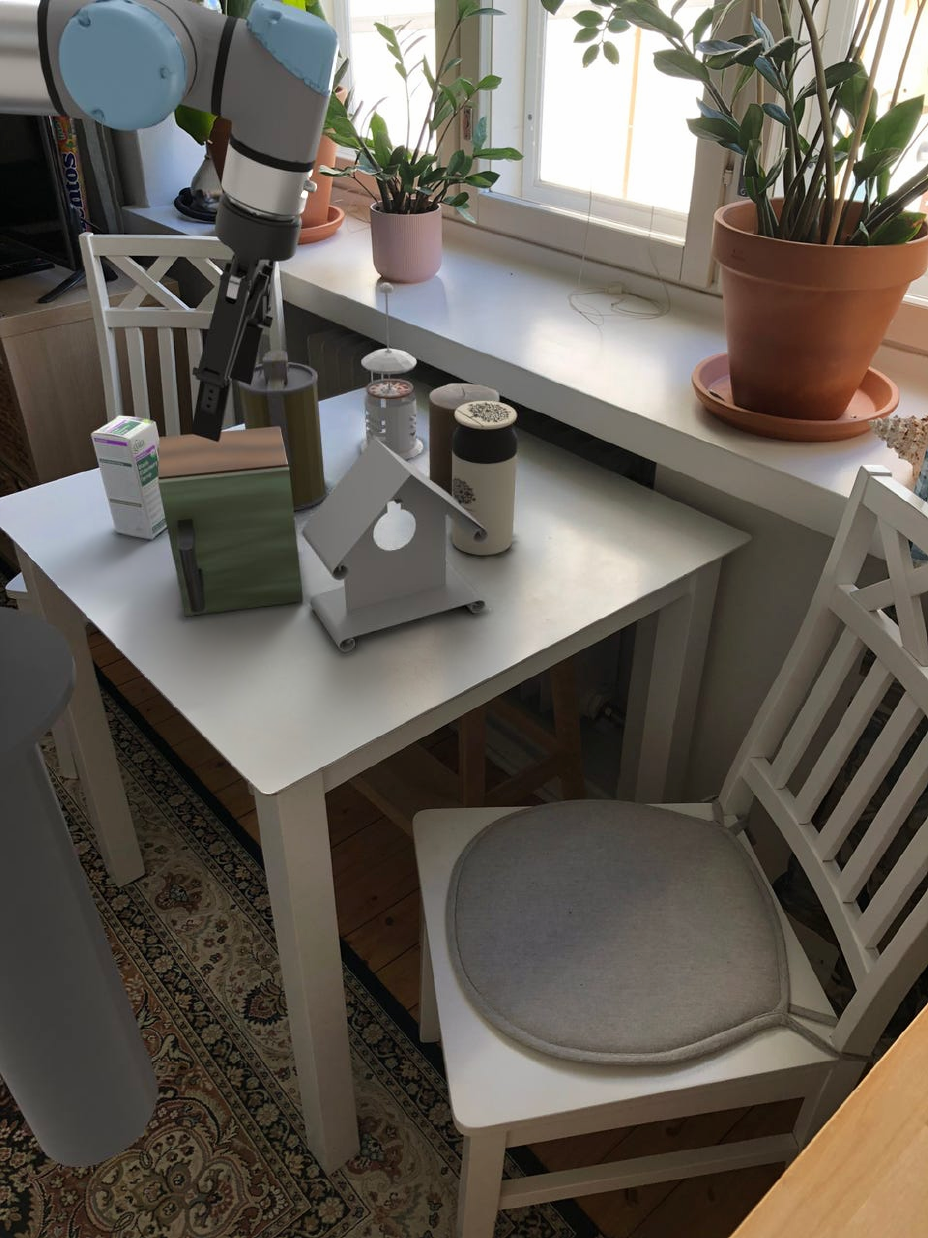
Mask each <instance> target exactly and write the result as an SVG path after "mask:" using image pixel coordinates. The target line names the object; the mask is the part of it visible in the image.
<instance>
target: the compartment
mask: <svg viewBox="0 0 928 1238" xmlns="http://www.w3.org/2000/svg"><path fill="white" fill-rule="evenodd" d="M280 467H288V462H287V457H286V453H285V448H284V444H283V439H282V434H281V430H280V426H278V427H267V428H256V429H245V428H244V429H234V430H224V431H223V430H222V432H221V437H220V440H219V442H216V441H213V440H210V439H206V438H203V437H200V436H197V435H194V434H191V433H190V434H179V435H168V436H167V435H166V436H159V461H158V480H159V479H170V478H180V477H190V476H200V475H210V474H220V473H230V472H240V471H250V470H260V469H270V468H280Z"/></svg>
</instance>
